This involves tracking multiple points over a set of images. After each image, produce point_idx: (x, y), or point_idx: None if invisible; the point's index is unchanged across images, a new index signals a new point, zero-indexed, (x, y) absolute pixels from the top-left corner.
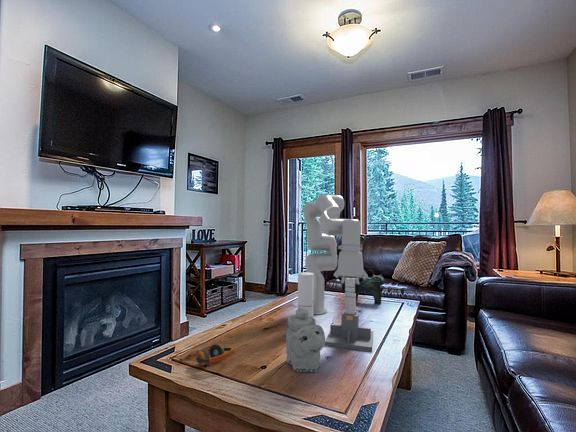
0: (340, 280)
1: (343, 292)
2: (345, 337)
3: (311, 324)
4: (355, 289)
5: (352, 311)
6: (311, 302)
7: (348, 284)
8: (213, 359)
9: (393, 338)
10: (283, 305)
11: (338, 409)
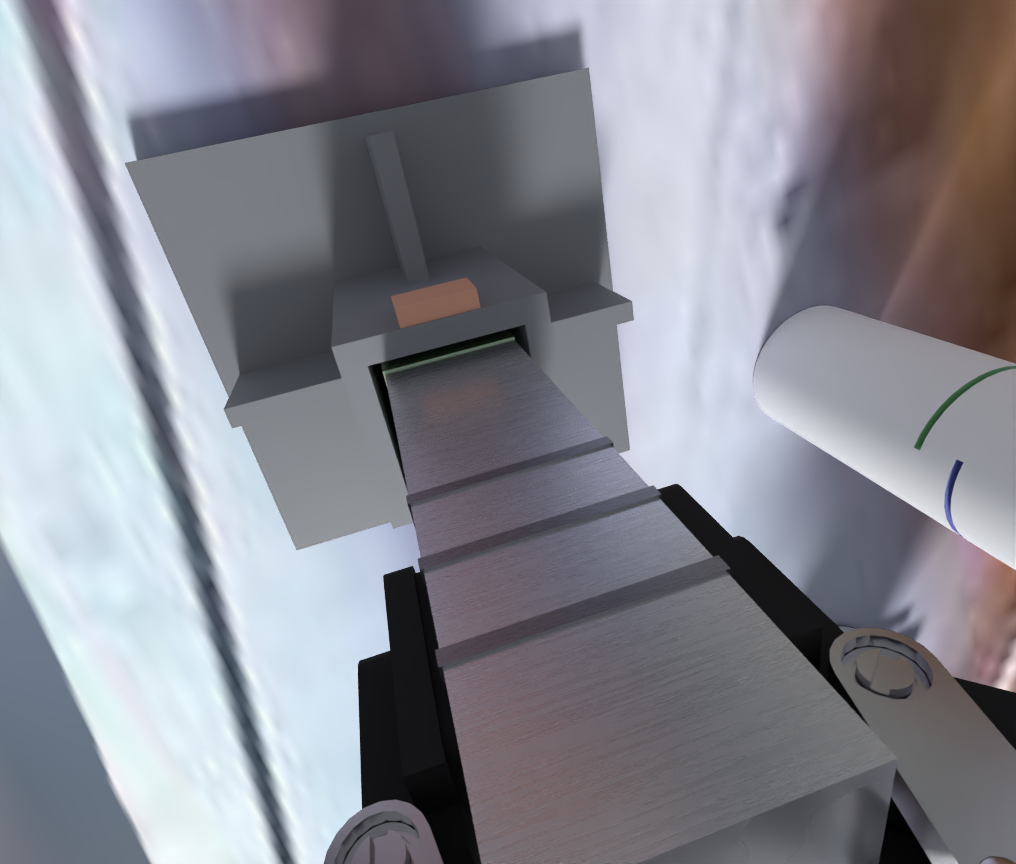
0: (980, 699)
1: (678, 487)
2: (446, 257)
3: None
4: (429, 638)
5: (422, 380)
6: (959, 449)
7: (664, 650)
8: None
9: (121, 560)
10: (1001, 656)
11: None
